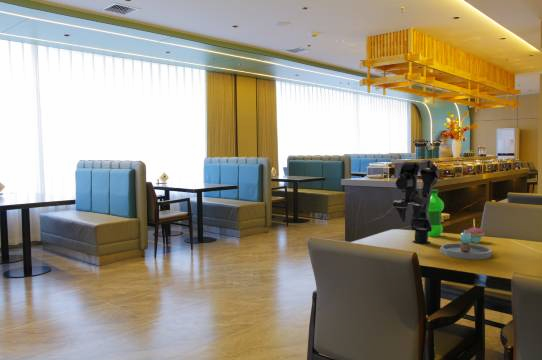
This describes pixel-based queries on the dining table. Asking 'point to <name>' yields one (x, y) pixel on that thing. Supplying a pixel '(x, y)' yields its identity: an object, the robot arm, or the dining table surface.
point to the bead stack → (465, 242)
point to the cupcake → (475, 233)
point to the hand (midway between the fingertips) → (409, 220)
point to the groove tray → (476, 250)
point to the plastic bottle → (435, 214)
